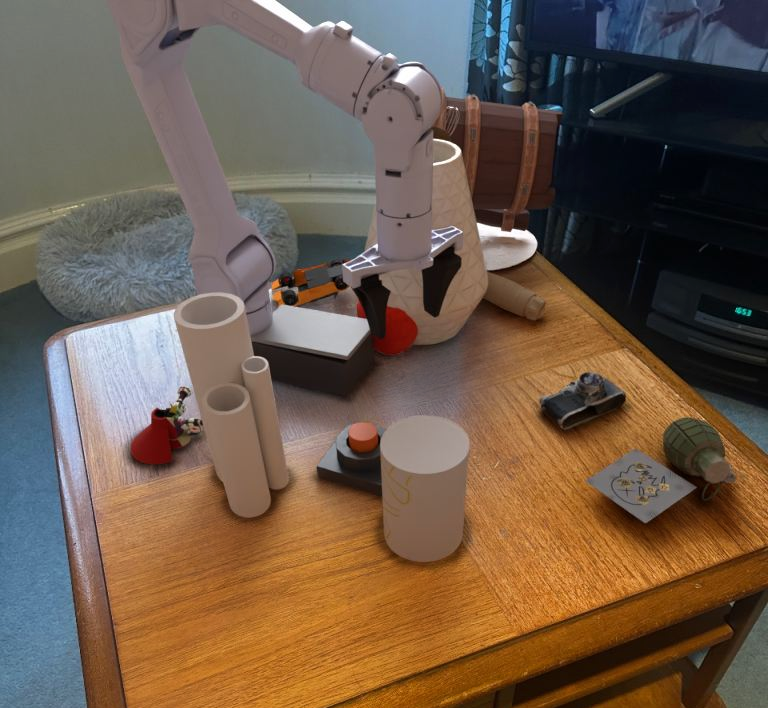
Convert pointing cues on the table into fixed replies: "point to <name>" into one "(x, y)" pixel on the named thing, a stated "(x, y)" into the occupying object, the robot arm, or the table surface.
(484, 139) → the wooden chest
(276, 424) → the vase
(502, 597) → the table surface
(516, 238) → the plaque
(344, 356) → the lid
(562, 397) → the camera
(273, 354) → the lidded storage box
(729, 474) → the grenade
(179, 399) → the action figure
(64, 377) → the table surface
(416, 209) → the robot arm
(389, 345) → the apple
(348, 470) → the block
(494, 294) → the handle
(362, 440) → the button
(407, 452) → the cup
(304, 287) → the toy car
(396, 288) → the vase
